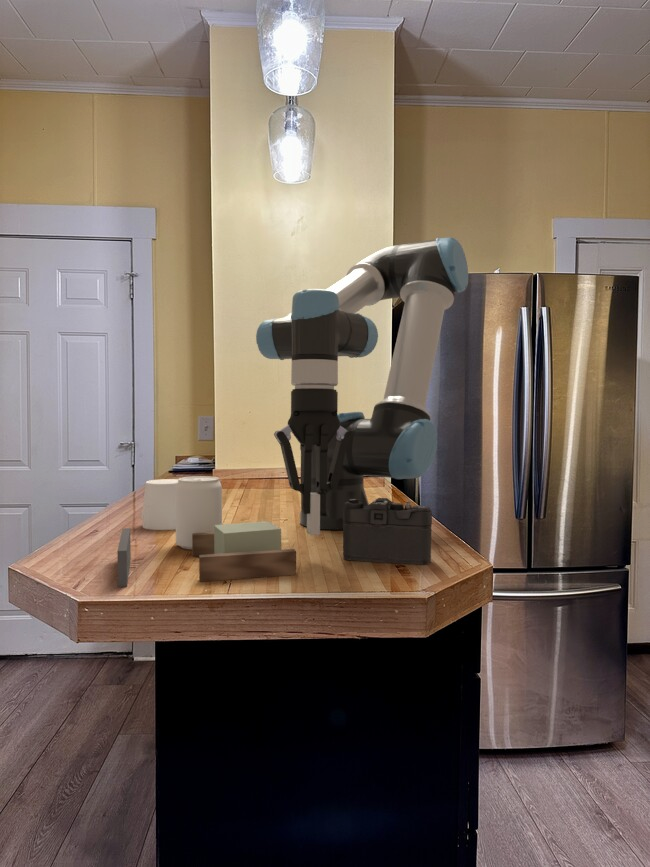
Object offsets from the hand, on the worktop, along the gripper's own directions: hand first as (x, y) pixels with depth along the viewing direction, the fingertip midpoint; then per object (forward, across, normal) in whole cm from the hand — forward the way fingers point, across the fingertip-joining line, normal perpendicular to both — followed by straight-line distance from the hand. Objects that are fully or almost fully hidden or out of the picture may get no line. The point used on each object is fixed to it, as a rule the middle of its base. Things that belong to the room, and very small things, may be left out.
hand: (313, 533), depth 101 cm
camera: (+4, -13, +1) cm, 13 cm away
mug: (+4, +21, -34) cm, 40 cm away
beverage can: (+5, +17, -15) cm, 23 cm away
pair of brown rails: (+4, +12, 0) cm, 13 cm away
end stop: (+5, +29, 0) cm, 30 cm away
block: (+5, +11, 0) cm, 12 cm away
